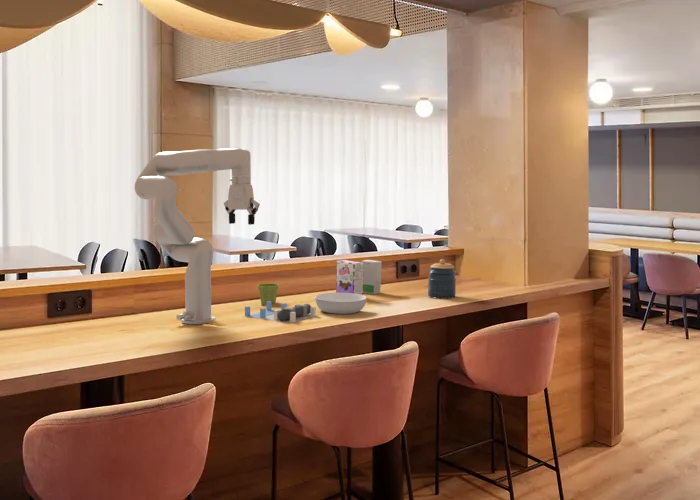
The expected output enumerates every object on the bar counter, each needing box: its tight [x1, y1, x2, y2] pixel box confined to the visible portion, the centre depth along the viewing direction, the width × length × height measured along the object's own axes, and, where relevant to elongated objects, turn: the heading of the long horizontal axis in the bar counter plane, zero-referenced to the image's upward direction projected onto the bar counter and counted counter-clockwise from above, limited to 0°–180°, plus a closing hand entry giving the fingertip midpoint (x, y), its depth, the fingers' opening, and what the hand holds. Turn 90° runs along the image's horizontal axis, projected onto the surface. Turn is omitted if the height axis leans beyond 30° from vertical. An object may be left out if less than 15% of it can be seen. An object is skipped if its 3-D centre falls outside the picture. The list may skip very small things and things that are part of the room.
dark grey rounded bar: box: [278, 303, 312, 322], centre depth 265 cm, size 17×4×4 cm, turn 149°
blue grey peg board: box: [242, 301, 318, 324], centre depth 269 cm, size 18×23×4 cm
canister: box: [427, 258, 457, 299], centre depth 323 cm, size 13×13×18 cm
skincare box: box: [360, 259, 383, 295], centre depth 332 cm, size 8×7×16 cm
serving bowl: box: [314, 292, 367, 315], centre depth 281 cm, size 21×21×7 cm
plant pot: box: [256, 282, 280, 306], centre depth 298 cm, size 9×9×9 cm
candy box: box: [335, 259, 364, 296], centre depth 321 cm, size 14×6×16 cm, turn 37°
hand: (241, 223), depth 278 cm, fingers open, 9 cm apart
